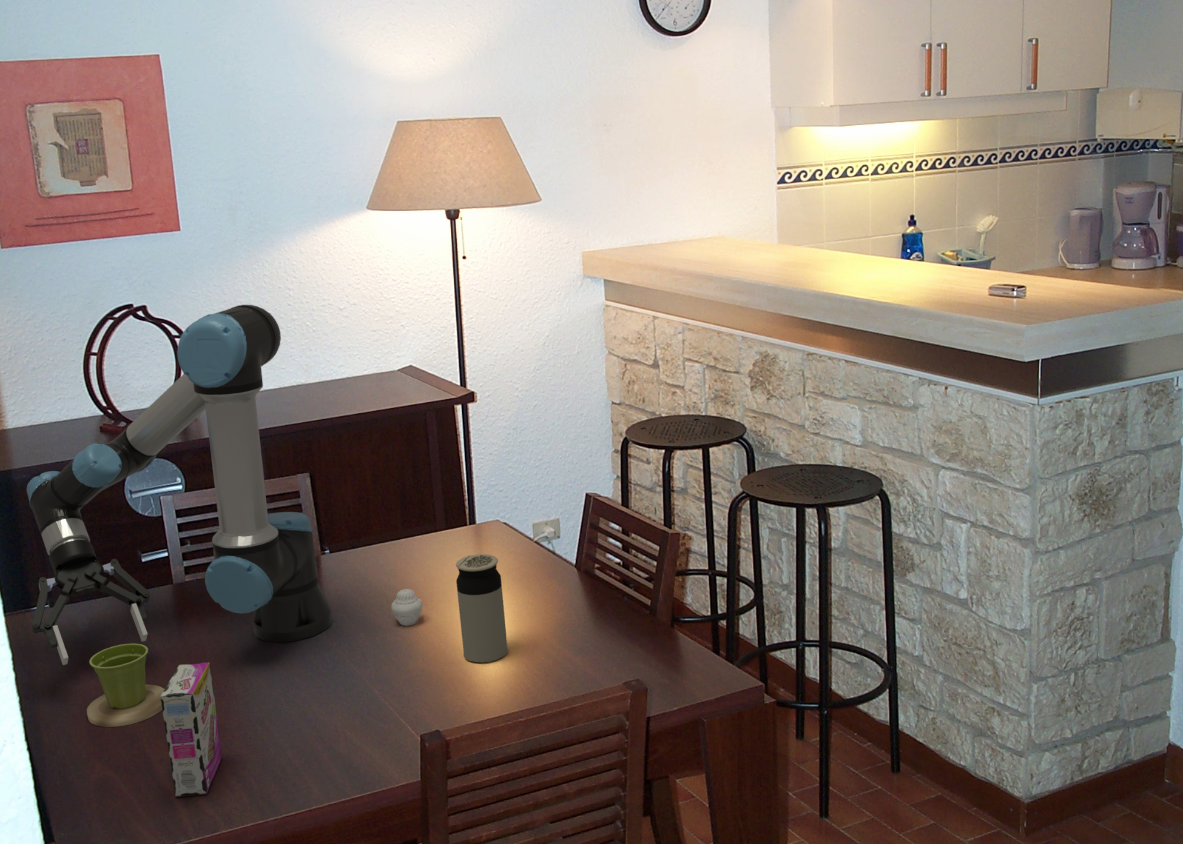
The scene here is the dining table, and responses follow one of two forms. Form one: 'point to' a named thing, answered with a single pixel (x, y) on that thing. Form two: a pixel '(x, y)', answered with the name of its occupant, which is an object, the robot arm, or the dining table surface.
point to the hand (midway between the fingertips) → (105, 649)
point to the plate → (125, 710)
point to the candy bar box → (191, 729)
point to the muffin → (406, 607)
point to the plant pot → (122, 674)
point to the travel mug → (481, 608)
